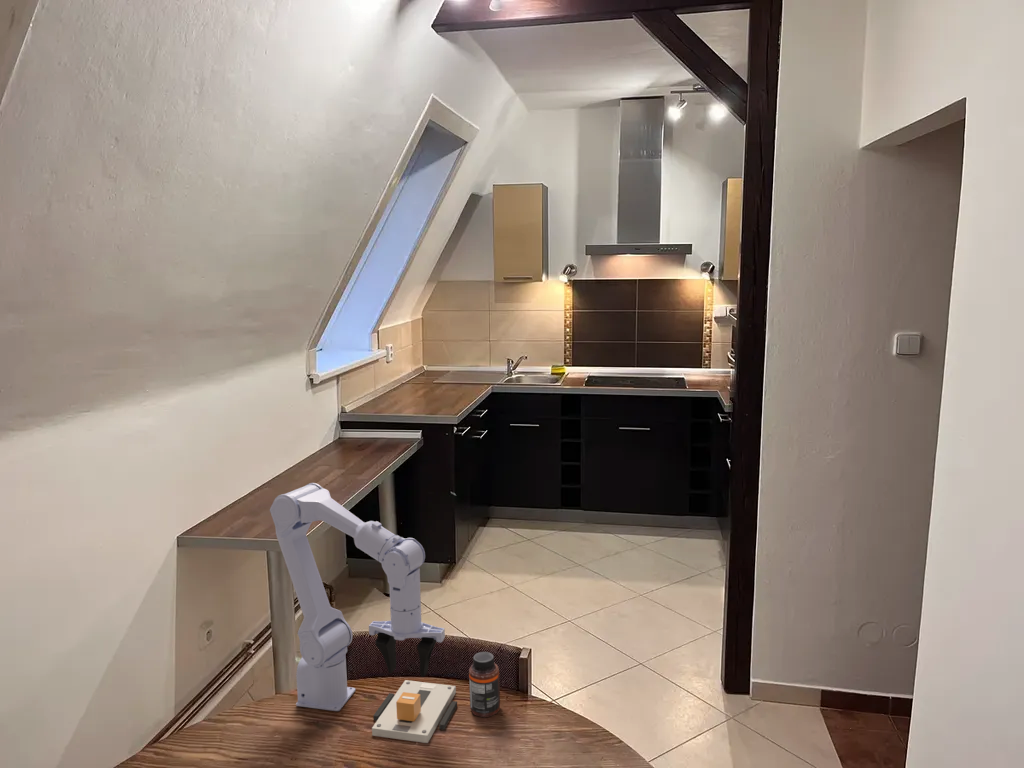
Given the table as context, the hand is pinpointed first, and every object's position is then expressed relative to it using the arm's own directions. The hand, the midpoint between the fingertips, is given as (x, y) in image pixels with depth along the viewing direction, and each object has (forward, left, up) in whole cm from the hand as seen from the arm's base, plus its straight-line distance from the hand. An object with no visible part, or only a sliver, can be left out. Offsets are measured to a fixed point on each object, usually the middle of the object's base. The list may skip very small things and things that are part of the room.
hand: (408, 672), depth 144 cm
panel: (0, +3, -10) cm, 11 cm away
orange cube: (0, 0, -9) cm, 9 cm away
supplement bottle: (+13, +7, -11) cm, 18 cm away
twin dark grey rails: (0, +3, -10) cm, 11 cm away
